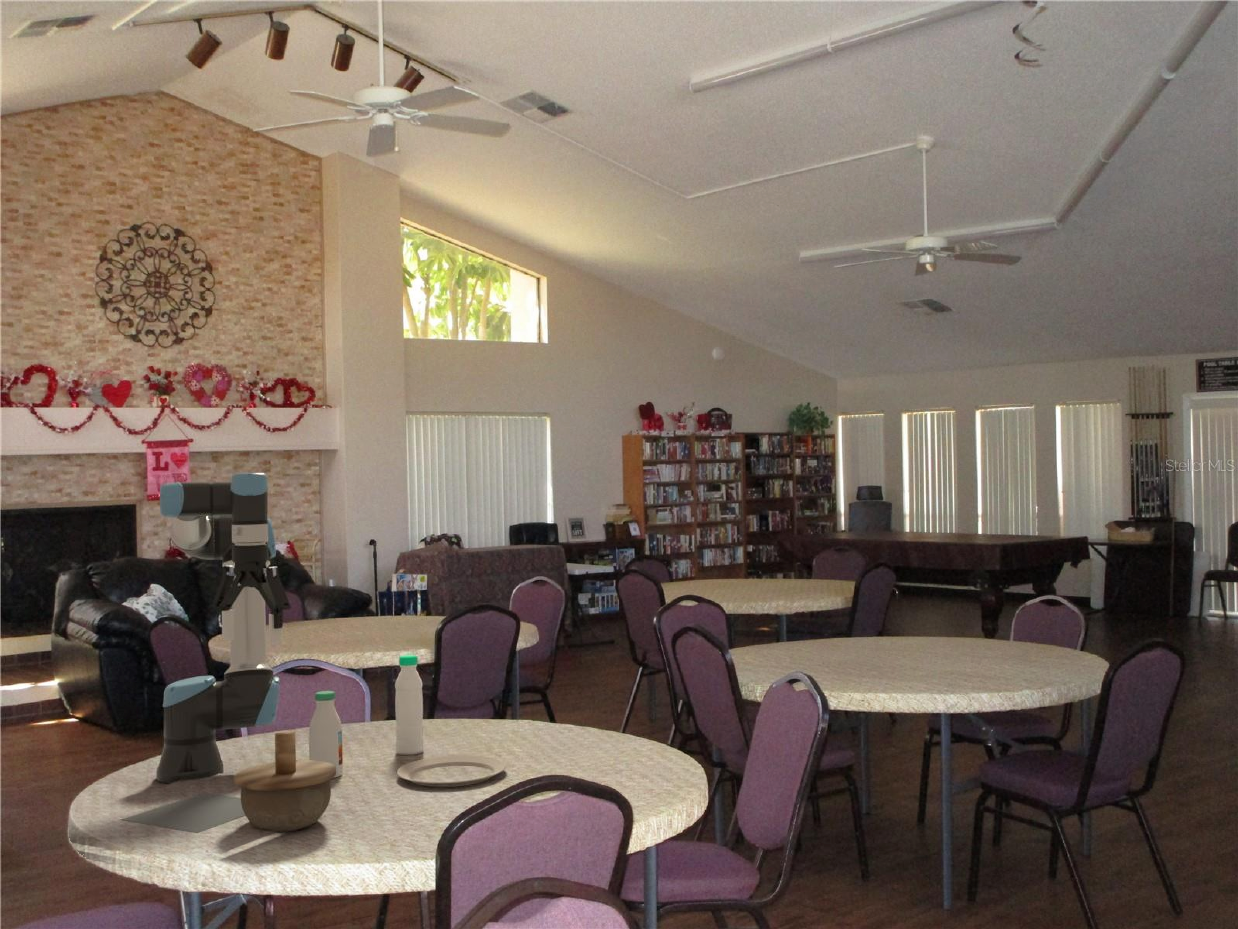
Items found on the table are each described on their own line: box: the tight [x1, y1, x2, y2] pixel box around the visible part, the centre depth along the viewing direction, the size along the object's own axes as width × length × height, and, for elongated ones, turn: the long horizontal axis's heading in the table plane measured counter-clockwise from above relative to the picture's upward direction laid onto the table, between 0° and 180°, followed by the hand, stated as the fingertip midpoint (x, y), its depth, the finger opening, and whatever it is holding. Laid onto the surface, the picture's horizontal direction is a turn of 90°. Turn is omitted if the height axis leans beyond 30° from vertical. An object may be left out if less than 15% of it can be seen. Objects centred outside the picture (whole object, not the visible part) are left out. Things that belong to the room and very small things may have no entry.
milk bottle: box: [308, 690, 344, 779], centre depth 264 cm, size 8×8×20 cm
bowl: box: [240, 779, 332, 833], centre depth 225 cm, size 17×18×10 cm
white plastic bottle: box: [394, 654, 425, 756], centre depth 287 cm, size 7×7×25 cm
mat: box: [120, 792, 246, 834], centre depth 233 cm, size 22×22×1 cm
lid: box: [233, 730, 336, 791], centre depth 225 cm, size 20×20×9 cm
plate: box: [396, 754, 506, 788], centre depth 262 cm, size 26×26×2 cm
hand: (251, 642), depth 239 cm, fingers open, 13 cm apart
